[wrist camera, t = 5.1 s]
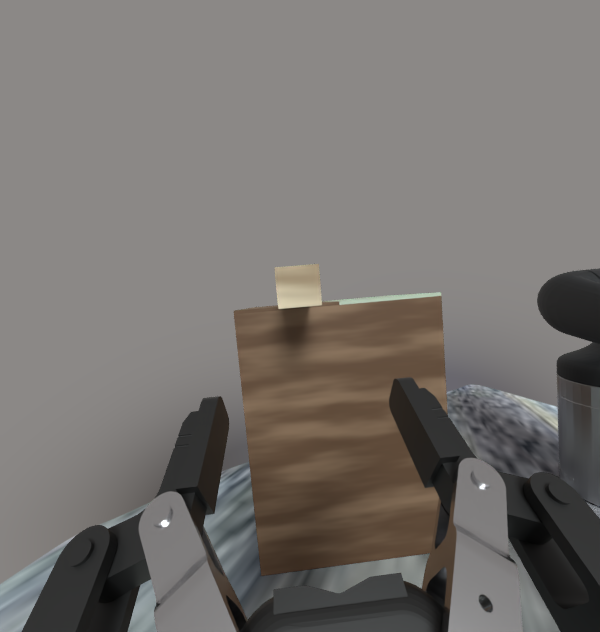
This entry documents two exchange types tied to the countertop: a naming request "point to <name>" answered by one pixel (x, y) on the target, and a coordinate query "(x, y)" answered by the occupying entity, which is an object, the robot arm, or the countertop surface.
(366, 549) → the walnut stand
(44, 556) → the countertop surface
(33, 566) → the countertop surface
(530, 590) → the countertop surface
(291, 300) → the beech baton
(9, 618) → the countertop surface
